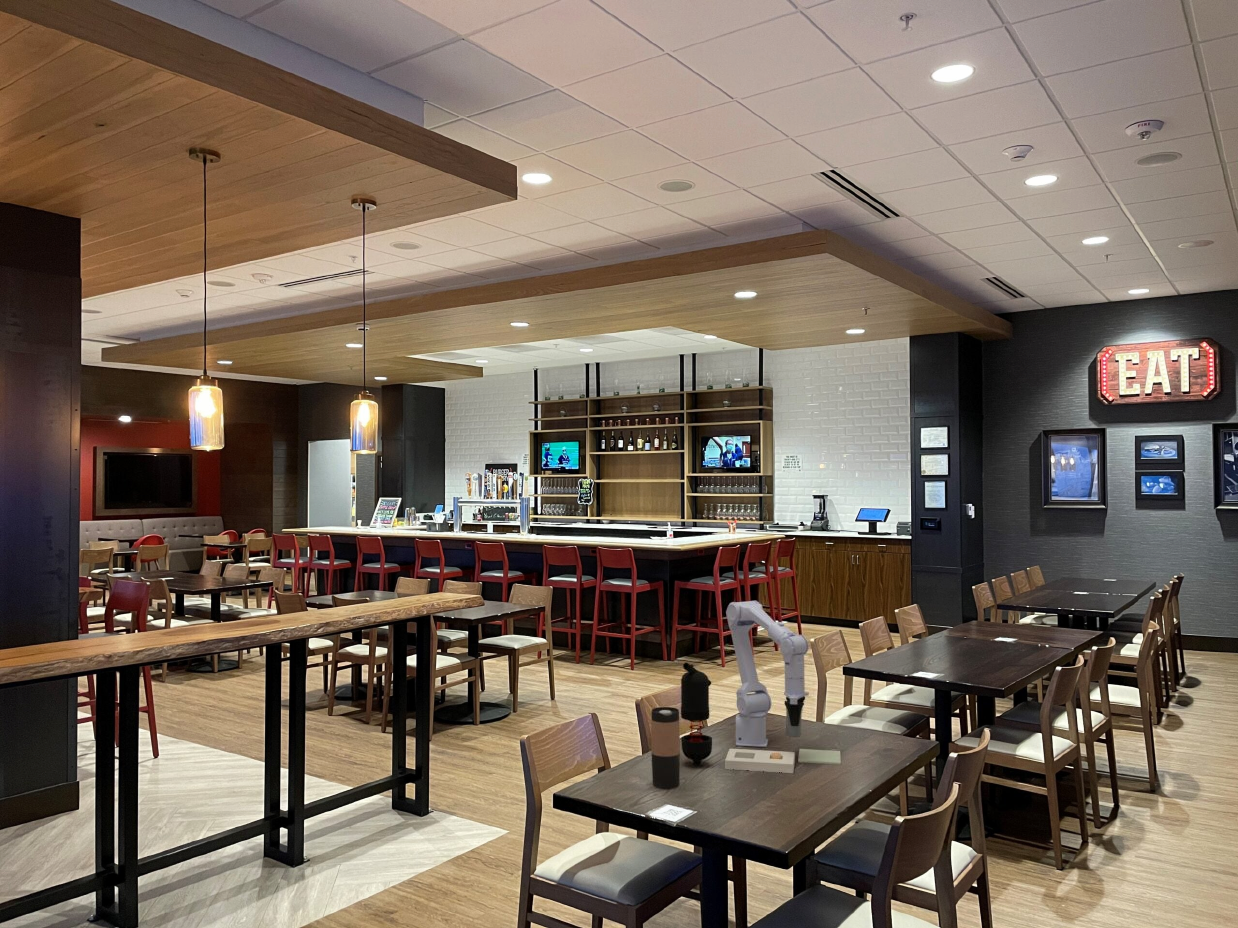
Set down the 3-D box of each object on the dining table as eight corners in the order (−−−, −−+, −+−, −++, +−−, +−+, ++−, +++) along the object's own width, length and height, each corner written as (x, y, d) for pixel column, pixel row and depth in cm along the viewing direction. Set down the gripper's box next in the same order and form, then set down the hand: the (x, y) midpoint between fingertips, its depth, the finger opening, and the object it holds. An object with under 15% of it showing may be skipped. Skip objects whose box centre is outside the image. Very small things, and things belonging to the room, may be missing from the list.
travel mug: (663, 778, 249) (662, 705, 249) (685, 783, 244) (685, 709, 244) (646, 785, 243) (645, 710, 243) (669, 791, 238) (668, 714, 238)
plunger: (771, 764, 258) (770, 755, 258) (771, 761, 261) (771, 752, 261) (780, 764, 258) (780, 755, 258) (781, 761, 260) (781, 753, 260)
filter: (700, 771, 254) (699, 664, 255) (673, 766, 260) (672, 661, 260) (724, 760, 265) (723, 657, 266) (697, 755, 270) (696, 654, 271)
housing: (725, 768, 257) (725, 760, 257) (729, 756, 268) (729, 748, 268) (793, 773, 252) (793, 764, 252) (794, 760, 264) (794, 752, 264)
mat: (798, 761, 263) (798, 760, 263) (799, 750, 274) (799, 748, 274) (840, 764, 260) (840, 762, 260) (840, 752, 272) (840, 750, 272)
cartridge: (785, 736, 263) (786, 708, 264) (784, 732, 268) (785, 705, 269) (801, 737, 263) (802, 710, 263) (801, 733, 267) (802, 706, 268)
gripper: (807, 682, 258) (808, 730, 258) (809, 672, 272) (810, 718, 272) (782, 681, 260) (783, 729, 259) (785, 671, 274) (786, 717, 273)
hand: (795, 723), depth 266 cm, fingers closed on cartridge, 5 cm apart
